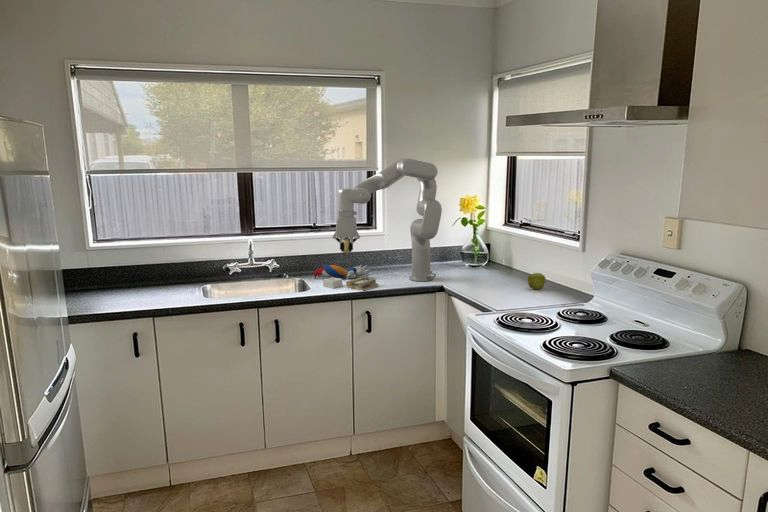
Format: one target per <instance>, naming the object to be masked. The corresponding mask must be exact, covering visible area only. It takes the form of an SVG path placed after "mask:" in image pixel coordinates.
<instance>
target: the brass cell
mask: <svg viewBox="0 0 768 512" xmlns="http://www.w3.org/2000/svg"><path fill="white" fill-rule="evenodd" d="M342 242H343V252H342V253H343V254H350V253H351V252H350V242H351V240H350V237H343V239H342Z"/></svg>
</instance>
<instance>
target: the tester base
mask: <svg viewBox="0 0 768 512" xmlns="http://www.w3.org/2000/svg"><path fill="white" fill-rule="evenodd" d="M361 280H362V281H364V282H361V283H358V284H354V282H357V281H361ZM345 284H346V285H345V286H346V289H350V288H351V289H352V290H356V289H358V290H357V291H361V290H364V291H366V289H367V290H370V289H373V288H376V286H377V287H379V283H377V280H376V279H375V278H371V279H366V280H365V277H361V278H359V277H357V278H354V279H351V280H350V279H349V280H347V281H346V282H345ZM369 288H370V289H369Z"/></svg>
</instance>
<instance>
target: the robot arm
mask: <svg viewBox="0 0 768 512" xmlns="http://www.w3.org/2000/svg"><path fill="white" fill-rule="evenodd" d="M437 175H438V168H437V166H436V165H435V164H434V163H431V162H426V161H423V160H417V159H412V158H400V159H397V160H396V161H394V162H392V163H391V164H390V165H388V166H387V167H385V168H384V169H382V170H381V171H379V172H377V173H376V174H374V175H372V176H371V177H368V178H366V179H365V180H363V181H362V182H360V183H359V184H357V185H356V186H354V187H353V188H340V189H338V192H337V194H338V196H337V197H338V203H337V204H338V212H337V213H338V216H336V221H335V222H336V223H335V232H334V233H333V235H332V239H333V240H336V241H337V242H338V243H339V250H340V251H341V253H343V238H345V237H348V238H350V253H351V252H352V250H353V251H354V243H355V242H356V241H357V240H359V239H361V235H360V234H359V233H358V229H357V225H358V224H357V217H356V216H357V214H358V212H357V211H355V204H359V205H364V204H367V203H368V202H370V200H371V197H372V194H373V193H375V192H377V191H381V190H385V189H387V188H390V187H391V186H392V185H394V184H395V183H397V182H398V181H399V180H401V179H402V178H404V177H405V176H406V177H411V178H415V179H417V181H418V183H419V195H418V200H417V204H416V212H417V215H419V216H420V217H421V216H422V218H417V219H414V220H413V221H412V222H411V224H410V228H409V229H410V230H409V232H410V237H411V275H408V276H409V277H408V279H409V280H411V281H413V282H428V281H429V282H430V281H432V280H434V279H435V278H436V276H437V274H436V273H433V270H431V240H433V239H434V238H435V237H436V236H437V234H438V231H439V227H440V222H441V218H442V213H443V210H442V205H441V203H440V202H439V201H438V200H436V197H437V191H438V189H437V187H438V186H437V181H436V179H435V178H436V177H437Z"/></svg>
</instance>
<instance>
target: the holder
mask: <svg viewBox="0 0 768 512" xmlns="http://www.w3.org/2000/svg"><path fill="white" fill-rule="evenodd" d="M322 286H323V288H330V289H336V287H337V288H339V286H340V287H342V286H343V278H334V277H332V276H331V277H329V278H325V279H322Z"/></svg>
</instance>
